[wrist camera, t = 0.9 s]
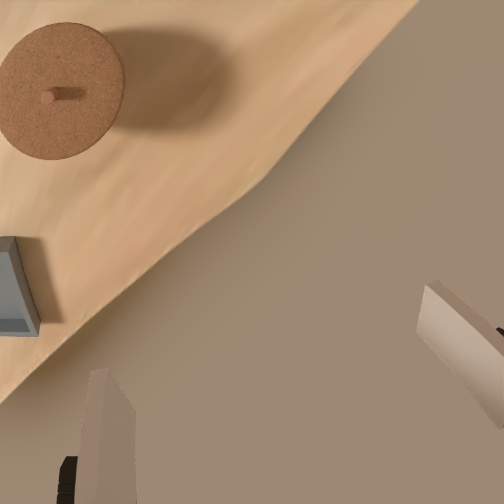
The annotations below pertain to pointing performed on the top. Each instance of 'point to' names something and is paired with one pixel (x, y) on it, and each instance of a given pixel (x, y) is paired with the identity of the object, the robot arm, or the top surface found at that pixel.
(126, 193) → the top surface
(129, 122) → the top surface
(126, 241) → the top surface
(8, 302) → the gray tray
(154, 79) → the top surface
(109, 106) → the lidded jar
